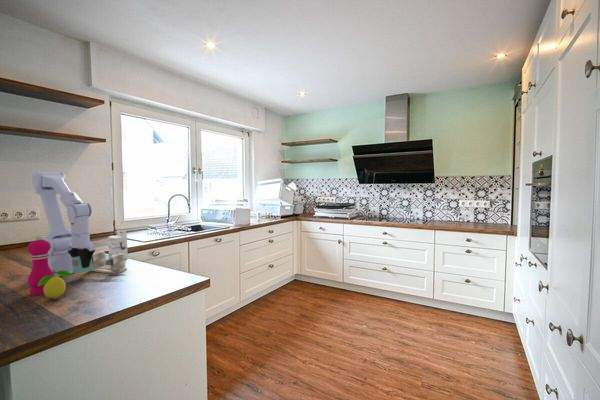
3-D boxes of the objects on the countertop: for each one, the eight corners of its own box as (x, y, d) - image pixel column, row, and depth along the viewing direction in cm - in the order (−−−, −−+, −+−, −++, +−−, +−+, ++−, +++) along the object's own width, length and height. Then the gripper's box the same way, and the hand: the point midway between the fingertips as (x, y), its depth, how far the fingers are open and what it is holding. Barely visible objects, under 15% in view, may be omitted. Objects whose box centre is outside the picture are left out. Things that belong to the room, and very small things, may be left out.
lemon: (73, 295, 97) (71, 266, 96) (59, 302, 91) (57, 271, 90) (53, 295, 96) (51, 266, 96) (37, 302, 91) (35, 272, 90)
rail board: (113, 274, 119) (112, 256, 119) (90, 270, 125) (89, 254, 125) (126, 270, 125) (125, 253, 124) (104, 266, 131) (103, 250, 130)
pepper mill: (53, 286, 105) (49, 233, 104) (58, 291, 101) (54, 235, 99) (26, 292, 100) (22, 236, 98) (30, 297, 95) (25, 238, 94)
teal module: (78, 273, 112) (77, 258, 111) (72, 272, 113) (71, 257, 113) (92, 269, 117) (91, 255, 116) (86, 268, 118) (85, 254, 118)
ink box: (108, 259, 144) (106, 230, 143) (118, 257, 148) (117, 229, 148) (118, 261, 140) (116, 231, 139) (128, 259, 144) (127, 230, 143)
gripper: (102, 232, 115) (104, 265, 116) (80, 230, 121) (81, 262, 121) (83, 235, 109) (85, 270, 109) (60, 233, 114) (62, 267, 115)
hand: (82, 266), depth 115 cm, fingers closed on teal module, 4 cm apart
